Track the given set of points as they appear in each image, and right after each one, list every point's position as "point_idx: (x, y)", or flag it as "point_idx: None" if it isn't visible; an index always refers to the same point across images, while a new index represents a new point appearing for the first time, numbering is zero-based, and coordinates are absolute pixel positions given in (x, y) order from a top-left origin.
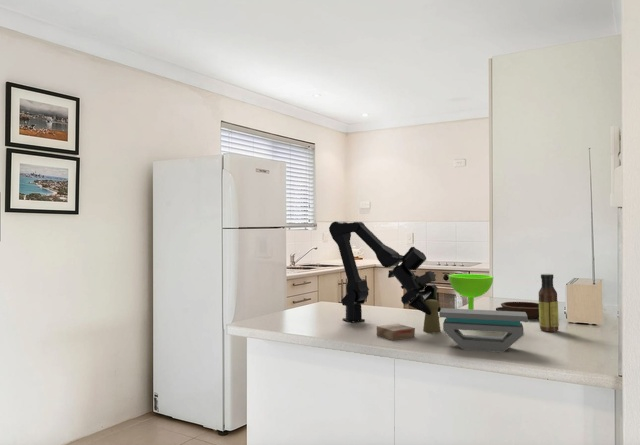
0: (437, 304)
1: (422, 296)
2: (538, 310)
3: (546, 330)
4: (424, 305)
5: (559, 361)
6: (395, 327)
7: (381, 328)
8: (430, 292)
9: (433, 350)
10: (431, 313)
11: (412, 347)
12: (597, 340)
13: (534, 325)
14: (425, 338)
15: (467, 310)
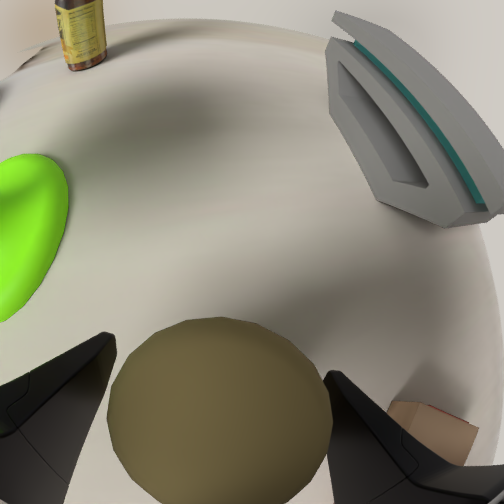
0: (263, 328)
1: (460, 487)
2: None
3: (102, 58)
4: (400, 433)
5: None
6: None
7: None
8: None
9: (474, 265)
10: (330, 371)
11: (483, 326)
12: (170, 24)
13: (29, 92)
14: (390, 351)
15: (455, 106)
